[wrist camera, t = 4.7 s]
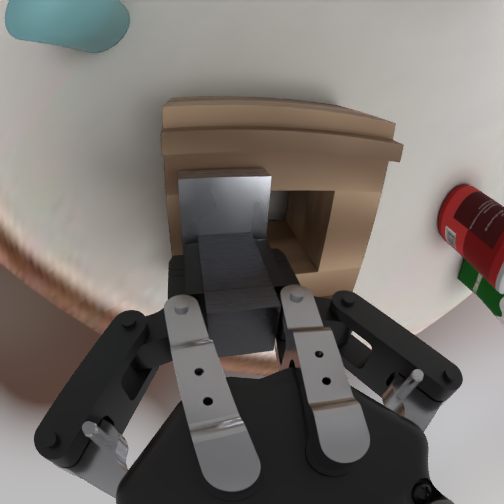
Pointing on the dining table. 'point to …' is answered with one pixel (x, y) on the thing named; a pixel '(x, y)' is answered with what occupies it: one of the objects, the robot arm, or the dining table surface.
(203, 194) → the latch bar
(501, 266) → the canned food
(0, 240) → the dining table surface
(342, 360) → the robot arm
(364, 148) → the socket block
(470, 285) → the milk carton
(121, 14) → the dowel
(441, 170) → the dining table surface
